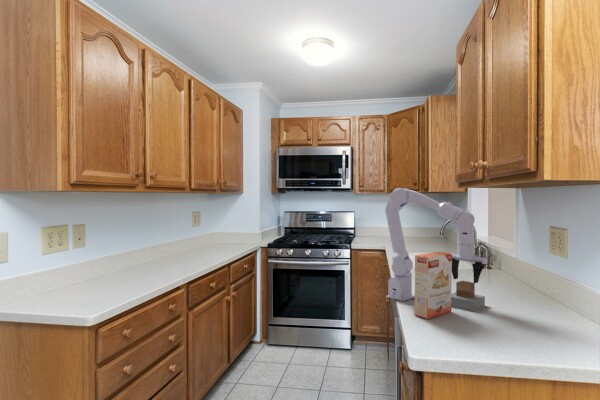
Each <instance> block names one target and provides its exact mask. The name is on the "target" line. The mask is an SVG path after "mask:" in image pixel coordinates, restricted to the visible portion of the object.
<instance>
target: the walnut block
mask: <svg viewBox="0 0 600 400" xmlns="http://www.w3.org/2000/svg"><path fill="white" fill-rule="evenodd" d="M455 285H456V287H455V290H456V291H455V292H456V296H460V297H464V298H471V297H474V296H475V294H476V293H475V292H476V291H475V290H476V289H475V287H476V286H475V285H476V283H474V281H473V282H472V281H467V280H459V281H456V284H455Z"/></svg>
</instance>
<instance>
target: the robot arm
mask: <svg viewBox="0 0 600 400" xmlns="http://www.w3.org/2000/svg"><path fill="white" fill-rule="evenodd" d="M409 203H419V204H421V205H423V206H426V207H428V208H430V209H432V210H435V211H436V212H437V215H438V216H440V217H441V218H444V219H445V220H448V221H450V222H451V223H456V225H457V238H456V239H457V245H456V246H457V248H456V249H457V253H451V254H452V278H453V279H452V280H457V279H458V278H459V267H460V266H459V264H460V261H461V262H462V261H463V262H469V263H472V264H471V266H472V270H473V271H472V272H473V283H475V284H477V283H479V281H480V277H481V274H482V271H483V270H484V268H485V266H486V265H487V264H488V258H487V257H482V256H481V257H480V256H476V255H475V226H474V223H475V221H476V219H475V215H474V214H473V213H471V212H470V211H469V210H465V209H464V208H460V207H458V206H455V205H453V202H450V201H448V202H447V201H442V202H438V201H437V200H435V199H433V198H431V197H428V196H426V195H425V194H423V193H421V192H418V191H415V190H413V189H412V190H411V189H409V188H406V187H403V188H402V187H397V188H394V189H393V190H392V192H391V193H390V194H389V195H388V201H387V204H386V206H385V215H386V219H387V226H388V232H389V236H390V237H389V238H390V241H391V247H392V264H391V270H392V272H393V273H392V277H390V278H389V279H388V284H387V285H388V286H387V287H388V288H387V295H386V297H387V298H390V299H394V300H397V301H402V302H404V301H407V300H411V299H413V298H414V299H415V294H413V292H412V291H413V290H412V289H413V284H412V283H413V281H412V280H413V278H412V277H413V276H412V273H411V271H412V269H413V267H414V266H413V265H414V264H413V261H412V259H411V258H410V255H409V252H408V251H407V249H406V248H407V246H406V244H405V238H404V232H403V228H402V223H401V218H400V211H401V210H402V209H403V207H404V206H405V205H407V204H409Z"/></svg>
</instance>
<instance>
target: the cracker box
mask: <svg viewBox="0 0 600 400" xmlns="http://www.w3.org/2000/svg"><path fill="white" fill-rule="evenodd" d="M452 254H453V253H450V252H444V251H443V252H441V251H434V252H430V253H429V252H428V253H421V254H416V255H414V295H415V297H414V307H413V308H414V310H413V311H414V312H413V313H414V314H413V315H414V316H416V317H417V316H418V317H421V318H422V319H426V320H430V319H432V318H435V317H439V316H442V315H444V314H445V315H446V314H447V313H451V312H452V307H451V294H452V284H453V283H452V280H453V279H452V278H453V274H452Z"/></svg>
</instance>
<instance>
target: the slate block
mask: <svg viewBox="0 0 600 400" xmlns="http://www.w3.org/2000/svg"><path fill="white" fill-rule="evenodd" d="M485 302H486V297H485V296H484V295H480V294H476V293H475V296H474V297H471V298H464V297H460V296H456V291H455V292H451V308H455V309H460V310H465V311H469V312H474V313H475V312H477V311H479V310H481V309H482V308H483V307H485V306H486V303H485Z"/></svg>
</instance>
